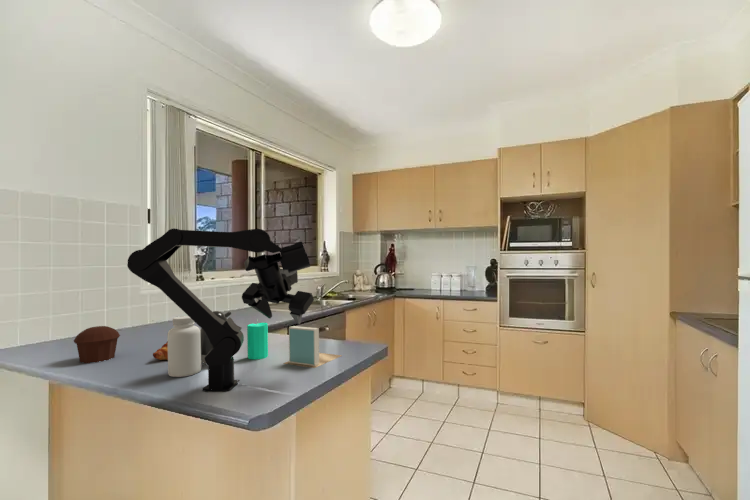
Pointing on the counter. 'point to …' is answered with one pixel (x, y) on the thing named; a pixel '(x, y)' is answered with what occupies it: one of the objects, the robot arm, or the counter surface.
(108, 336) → the muffin
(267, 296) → the robot arm
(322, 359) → the mat
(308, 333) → the tile
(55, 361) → the counter surface
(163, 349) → the croissant
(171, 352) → the pill bottle
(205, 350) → the pump dispenser
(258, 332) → the candle
